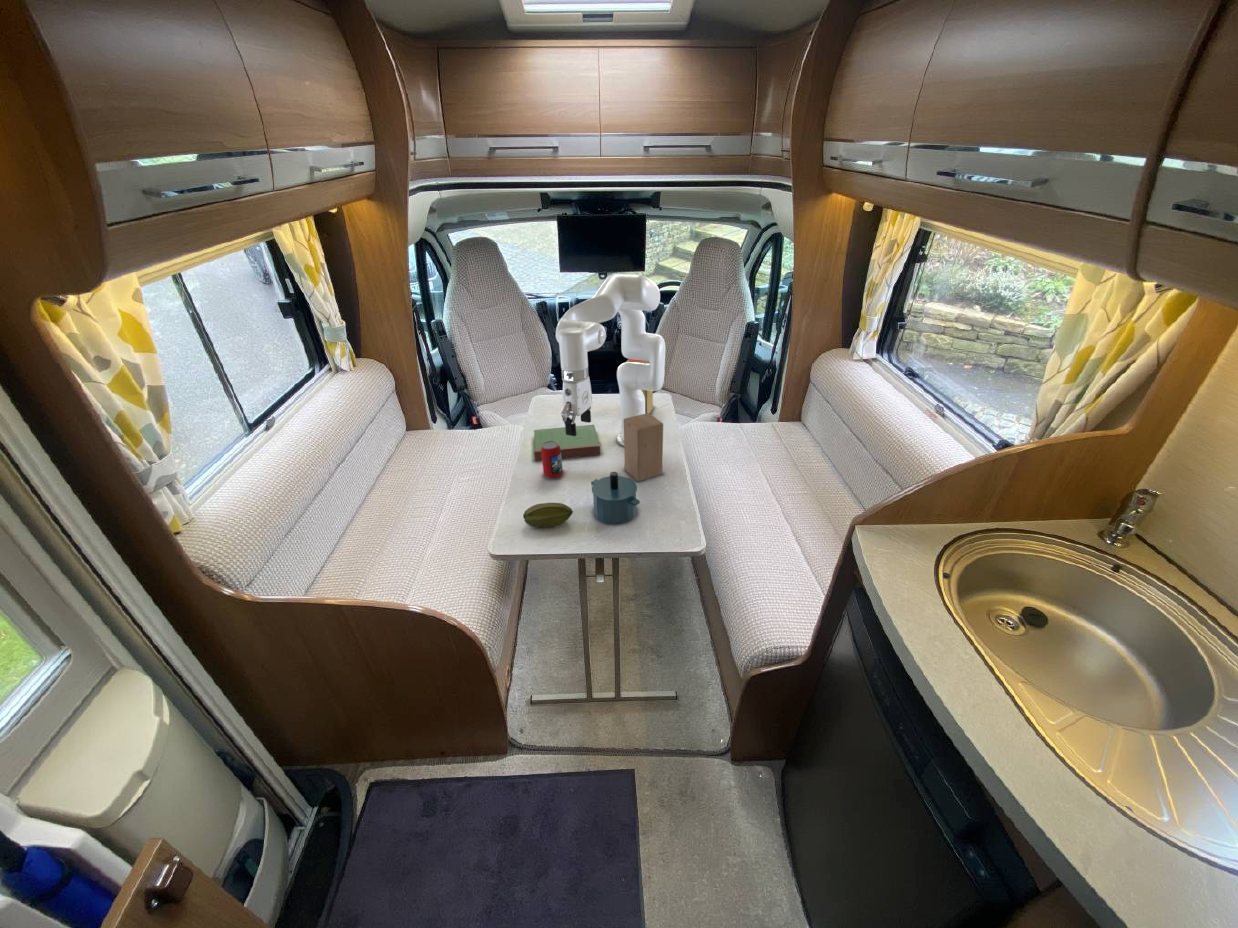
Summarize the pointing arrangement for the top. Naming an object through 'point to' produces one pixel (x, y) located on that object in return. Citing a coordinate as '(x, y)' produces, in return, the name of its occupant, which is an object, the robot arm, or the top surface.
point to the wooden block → (643, 446)
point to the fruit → (547, 514)
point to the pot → (615, 509)
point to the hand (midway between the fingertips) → (578, 428)
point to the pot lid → (614, 488)
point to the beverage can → (551, 459)
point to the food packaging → (647, 394)
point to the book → (569, 441)
